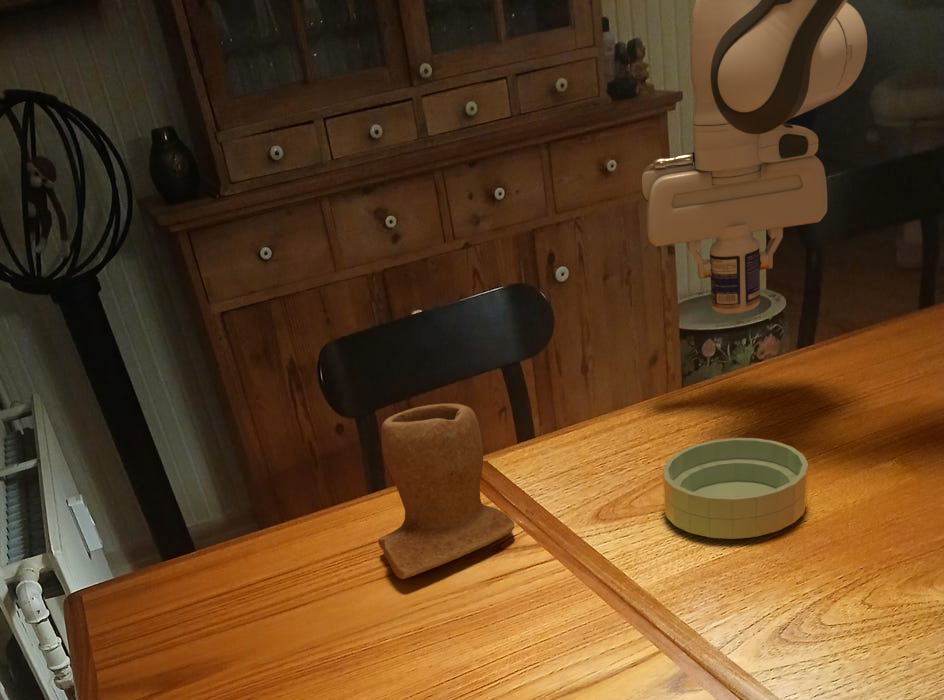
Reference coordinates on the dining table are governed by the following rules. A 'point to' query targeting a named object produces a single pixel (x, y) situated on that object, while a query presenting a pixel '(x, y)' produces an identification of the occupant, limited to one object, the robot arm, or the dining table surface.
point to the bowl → (735, 487)
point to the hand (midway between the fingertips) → (735, 272)
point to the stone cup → (437, 488)
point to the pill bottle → (735, 271)
